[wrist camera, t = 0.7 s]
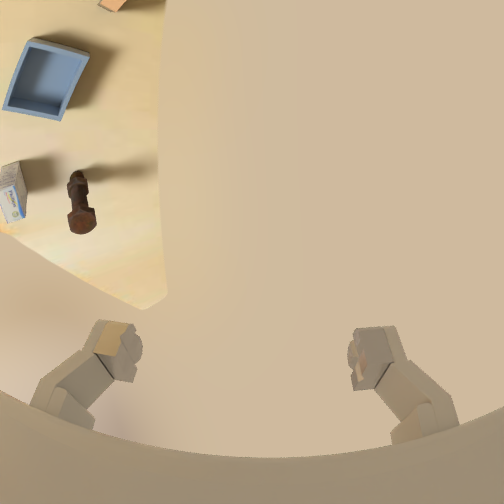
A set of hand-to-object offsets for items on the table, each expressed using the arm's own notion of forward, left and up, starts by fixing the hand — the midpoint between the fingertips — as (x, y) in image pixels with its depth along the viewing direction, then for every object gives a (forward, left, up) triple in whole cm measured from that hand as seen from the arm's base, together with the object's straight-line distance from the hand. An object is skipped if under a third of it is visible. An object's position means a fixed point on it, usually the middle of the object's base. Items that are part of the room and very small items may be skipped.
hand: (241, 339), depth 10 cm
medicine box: (-8, -28, -51) cm, 58 cm away
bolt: (+6, -25, -51) cm, 57 cm away
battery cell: (-4, +10, -50) cm, 52 cm away
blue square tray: (-8, -6, -50) cm, 51 cm away
